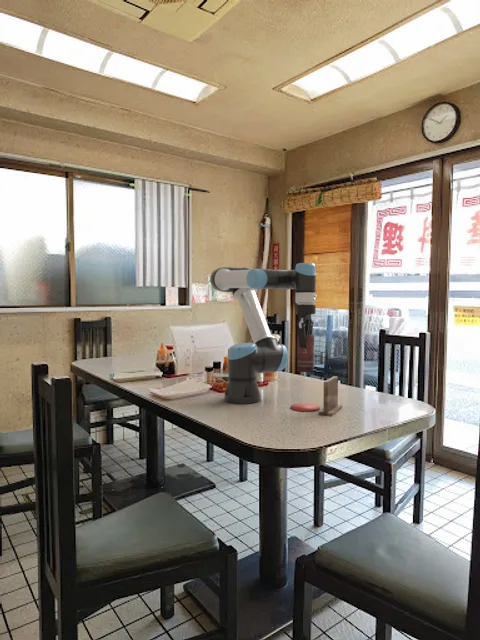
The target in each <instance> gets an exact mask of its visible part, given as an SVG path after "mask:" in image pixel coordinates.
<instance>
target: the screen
mask: <svg viewBox="0 0 480 640" xmlns="http://www.w3.org/2000/svg"><path fill="white" fill-rule="evenodd" d="M338 392H339V376H337V375H333V376H332V377H330V378H328V379H326V380H324V381H323V408H321V409H319V410H318V415H320V416H330V417H333V416H335V414H336V413H338V412H339V411H340V410H342V409H343V405H342V404H339V402H338V401H339V400H338V399H339V393H338Z"/></svg>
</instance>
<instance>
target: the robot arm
mask: <svg viewBox="0 0 480 640" xmlns="http://www.w3.org/2000/svg"><path fill="white" fill-rule="evenodd" d="M316 277H317V272H316V265H315V263H313V262H299V263H297V264H296V265H295V268H294V269H268V268H267V269H265V268H250V267H249V268H248V267H230V266H229V267H226V266H223V267H222V266H221V267H218V268H216V269H214V270H213V271H212V273H210V277H209V282H210V285H211V286H212V288H213V289H215V290H216V291H218V292H220V293H221V292H222V293H232V295H233V298H234V299H235V300H236V301H238V303H239V305H240V308H241V311H242V313H243V316H244V319H245V322H246V325H247V328H248V330H249V334H250V336H251V339H252V341H253V342H243V343H237V344H233V345H231V346H230V347H229V348H228V353H227V354H228V355H227V359H228V361H227V362H228V369H227V371H228V372H227V373H228V380H227V381H228V382H227V386H226V388H225V391H224V394H223V395H224V398H223V400H224V401H225V402H226V401H227V402H226V403H231V404H236V405H237V404H238V405H240V404H241V405H243V404H255V403H259V402H260V401H261V399H262V397H261V391H260V388H259V385H258V383H257V374H268V373H275V372H276V373H277V372H280V371H283V370H284V369H285V368H286V366H287V364H288V360H289V353H288V349H287V347H286V345H285V344H283V343H280V344H279V342H278V339H277V337H275V336H273V335H272V332H271V330H270V328H269V325H268V322H267V319H266V317H265V314H264V311H263V310H262V309H263V308H262V307H261V304H260V302H259V298H258V297H257V292H258V290H262V289H264V290H265V289H266V290H270V289H271V290H284V291H285V290H286V291H287V290H295V304H296V305H295V315H299V320H298V322H297V323H296V327H297V332H298V333H297V335H298V336H299V347H300V348H306V347H307V346H306V335H313V330H314V329H313V327H314V324H315V322H314V321H313V319H312V315H316V314H317V313H316V311H317V310H316V308H317V307H316V306H317V305H315V303H316V298H317V297H318V296H317V294H316V293H317V292H316V289H317V288H316V287H317V283H316V282H317V281H316V280H317V279H316ZM298 336H297V337H298Z"/></svg>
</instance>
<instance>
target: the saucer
mask: <svg viewBox="0 0 480 640" xmlns="http://www.w3.org/2000/svg"><path fill="white" fill-rule="evenodd" d="M320 408H321V407H320V405H318V404H315V403H307V402H306V403H305V402H304V403H303V402H302V403H300V402H299V403H293V404H291V405H290V409H292V410H293V411H296V412H297V411H298V412H302V413H303V412H304V413H305V412H309V413H311V412H317V411H320V410H321V409H320Z"/></svg>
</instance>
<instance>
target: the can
mask: <svg viewBox="0 0 480 640" xmlns="http://www.w3.org/2000/svg"><path fill="white" fill-rule="evenodd" d="M306 346H307V347H306V348H300V347H299V336H297V371H298V372H300V373H312V372H314V370H315V368H314V367H315V366H314V365H315V360H314V359H315V354H314V353H315V336H314V334H312V335H306Z"/></svg>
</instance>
